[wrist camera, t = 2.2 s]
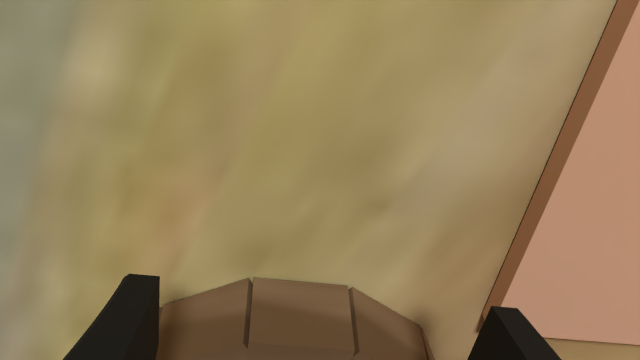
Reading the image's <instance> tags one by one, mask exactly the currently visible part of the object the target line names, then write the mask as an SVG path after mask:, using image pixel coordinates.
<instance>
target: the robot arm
mask: <svg viewBox="0 0 640 360" xmlns="http://www.w3.org/2000/svg"><path fill="white" fill-rule="evenodd" d="M159 282H160V276H149V275H138V274H129V275H127V276H125V277H124V278H123V280H122V282H121V283H120V285H119V286H118V288H117V289H116V291H115V292H114V294H113V295H112V297H111V298H110V300H109V301H108V303H107V304H106V305H105V307H104V308H103V310H102V311H101V312H100V314H99V315H98V316H97V318H96V319H95V320H94V322H93V323H92V324H91V326H90V327H89V328H88V329H87V331H86V332H85V333H84V334H83V336H82V337H81V338H80V339H79V340H78V342H77V343H76V344H75V345H74V347H73V348H72V349H71V350H70V352H69V353H68V354H67V355H66V356H65V357H64V359H63V360H156V355H157V350H158V345H159ZM468 360H561V359H560V357H559V356H558V355H557V354H556V353H555V352H554V350H553V349H552V348H551V347H550V346H549V344H548V343H547V342H546V341H545V340H544V338H543V337H542V336H541V335H540V334H539V333H538V331H537V330H536V329H535V328H534V327H533V325H532V324H531V323H530V322H529V321H528V320H527V318H526V317H525V316H524V315H523V314H522V313H521V312H520V310H519V309H518V308H510V307H499V306H491V308H490V310H489V312H488V314H487V317H486V319H485V321H484V323H483V326H482V328H481V330H480V332H479V335H478V337H477V339H476V341H475V344H474V346H473V348H472V351H471V353H470V355H469V357H468Z"/></svg>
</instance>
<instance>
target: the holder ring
mask: <svg viewBox="0 0 640 360" xmlns="http://www.w3.org/2000/svg"><path fill="white" fill-rule="evenodd" d="M156 360H435V358H434V356H433V354H432V351H431V349H430V347H429V344H428V342H427V340H426V337H425V335H424V332H423V330H422V328H421V329H420V326H419V325H417V324H415V323H414V322H412V321H410V320H408V319H407V318H405V317H403V316H401V315H400V314H398V313H396V312H395V311H393V310H391V309H389V308H388V307H386V306H384V305H382V304H381V303H379V302H377V301H375V300H374V299H372V298H370V297H368V296H367V295H365V294H363V293H362V292H360V291H358V290H356V289H355V288H353V287H352V288H351V289H350V290H348V286H344V285H333V284H322V283H310V282H299V281H288V280H276V279H265V278H253V284H252V282H251V281H250V279H249V278H247V279H244V280H241V281H238V282H235V283H231V284H228V285H225V286H222V287H219V288H216V289H213V290H209V291H206V292H203V293H200V294H197V295H194V296H191V297H187V298H184V299H181V300H178V301H175V302H172V303H169V304H165V305H164V306H163V308H161V307H160V308H159V345H158V350H157V355H156Z"/></svg>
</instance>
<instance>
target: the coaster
mask: <svg viewBox="0 0 640 360" xmlns="http://www.w3.org/2000/svg"><path fill="white" fill-rule="evenodd" d="M491 306H499V307H510V308H518V309H519V310H520V312H521V313H522V314H523V315H524V316H525V317H526V318H527V320H528V321H529V322H530V323H531V324H532V325H533V327H534V328H535V329H536V330H537V331H538V333H539V334H540V335H541V336H542V337H547V338H560V339H572V340H584V341H597V342H609V343H621V344H634V345H640V0H618V1H617V4H616V6H615V8H614V10H613V13H612V15H611V17H610V20H609V22H608V24H607V27H606V29H605V31H604V34H603V36H602V38H601V40H600V43H599V45H598V47H597V50H596V52H595V54H594V57H593V59H592V61H591V64H590V66H589V68H588V70H587V73H586V75H585V77H584V80H583V82H582V84H581V87H580V89H579V91H578V94H577V96H576V98H575V100H574V103H573V105H572V107H571V110H570V112H569V114H568V117H567V119H566V121H565V124H564V126H563V128H562V130H561V133H560V135H559V137H558V140H557V142H556V144H555V147H554V149H553V151H552V154H551V156H550V158H549V160H548V163H547V165H546V167H545V170H544V172H543V174H542V177H541V179H540V181H539V184H538V186H537V188H536V190H535V193H534V195H533V197H532V200H531V202H530V204H529V207H528V209H527V211H526V214H525V216H524V218H523V220H522V223H521V225H520V227H519V230H518V232H517V234H516V237H515V239H514V241H513V244H512V246H511V248H510V250H509V253H508V255H507V257H506V260H505V262H504V264H503V267H502V269H501V271H500V274H499V276H498V278H497V280H496V283H495V285H494V287H493V290H492V292H491V294H490V297H489V299H488V301H487V304H486V306H485V308H484V310H483V313H482V315H483V318H484V320H485V319H486V317H487V314H488V312H489V310H490V308H491Z"/></svg>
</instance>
